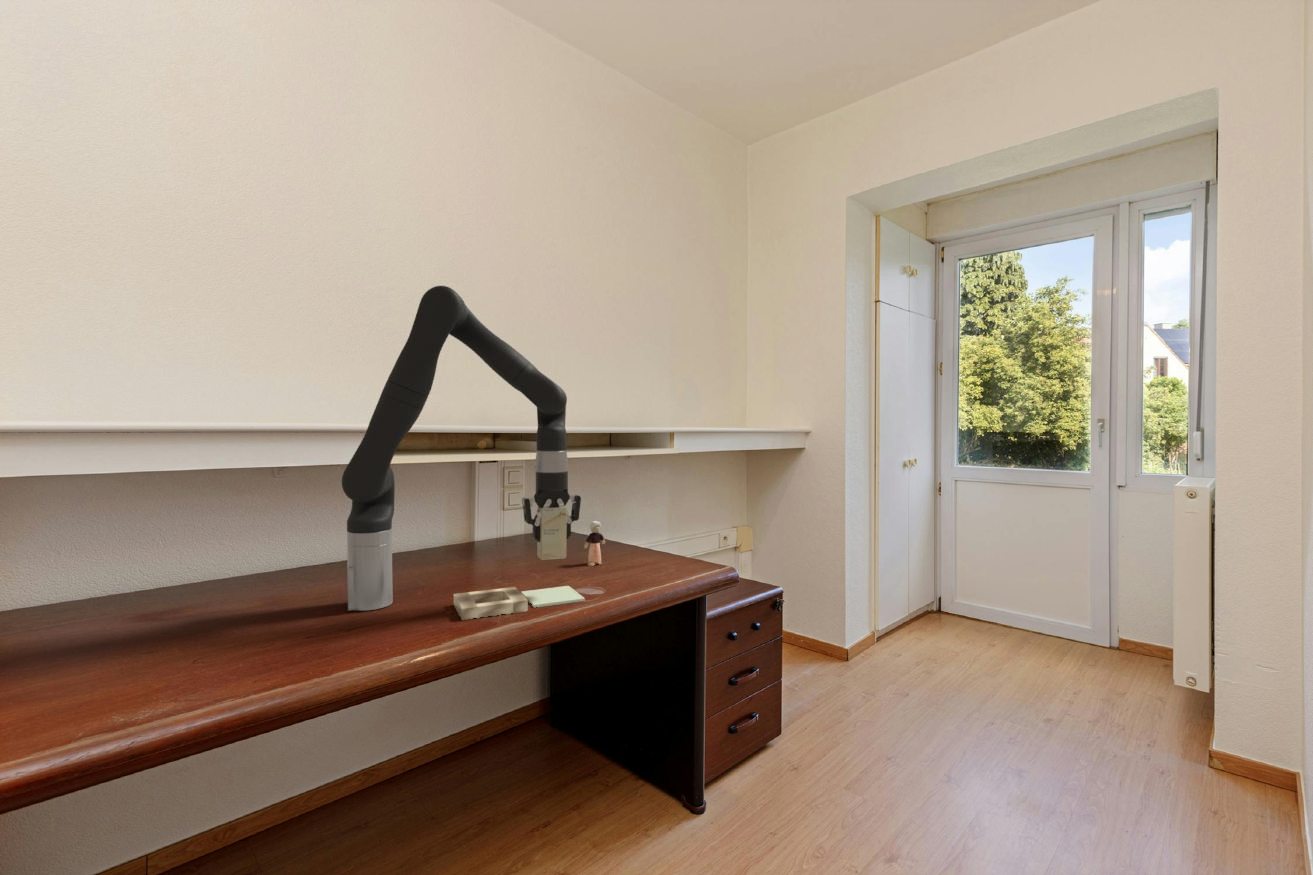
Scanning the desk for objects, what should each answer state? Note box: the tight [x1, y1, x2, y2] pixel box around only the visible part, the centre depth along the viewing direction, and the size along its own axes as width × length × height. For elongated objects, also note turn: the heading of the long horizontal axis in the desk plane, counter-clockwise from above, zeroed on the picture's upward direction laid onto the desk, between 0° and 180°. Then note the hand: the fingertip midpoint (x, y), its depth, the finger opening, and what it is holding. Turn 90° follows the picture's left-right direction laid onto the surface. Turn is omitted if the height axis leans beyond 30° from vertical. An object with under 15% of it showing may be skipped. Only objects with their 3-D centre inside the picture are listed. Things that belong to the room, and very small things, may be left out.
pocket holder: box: [453, 586, 529, 621], centre depth 140 cm, size 14×12×2 cm
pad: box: [520, 585, 586, 609], centre depth 148 cm, size 12×12×1 cm
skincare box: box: [536, 505, 568, 561], centre depth 147 cm, size 6×4×12 cm
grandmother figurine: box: [583, 520, 606, 567], centre depth 181 cm, size 8×4×13 cm, turn 148°
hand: (552, 539), depth 148 cm, fingers closed on skincare box, 6 cm apart
